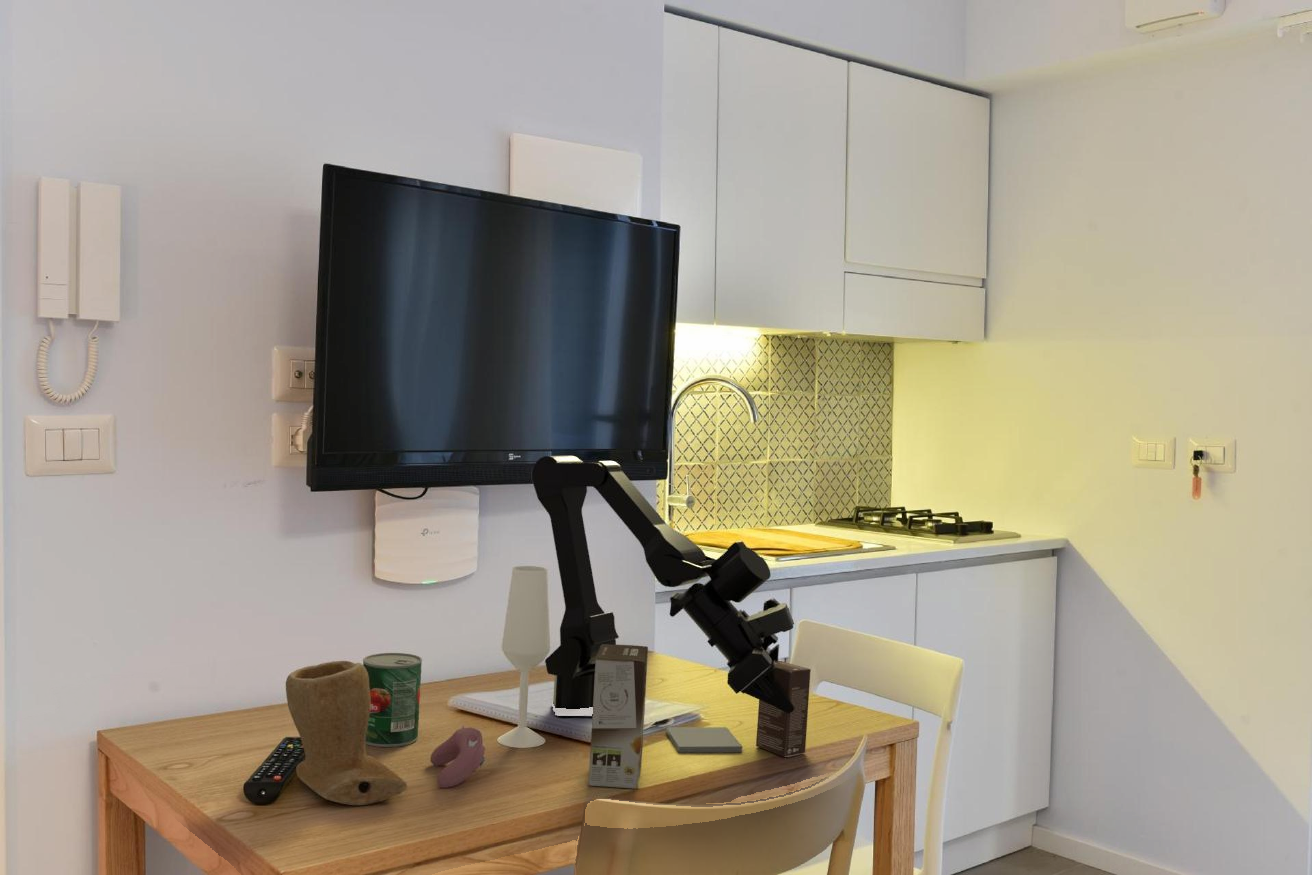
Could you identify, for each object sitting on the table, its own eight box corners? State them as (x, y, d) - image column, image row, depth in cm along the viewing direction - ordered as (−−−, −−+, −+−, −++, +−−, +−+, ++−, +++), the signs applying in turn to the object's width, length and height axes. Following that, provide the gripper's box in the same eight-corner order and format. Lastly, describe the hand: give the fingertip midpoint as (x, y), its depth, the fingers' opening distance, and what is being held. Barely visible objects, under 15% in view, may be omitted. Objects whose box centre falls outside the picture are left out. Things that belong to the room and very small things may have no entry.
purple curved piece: (467, 801, 138) (495, 749, 139) (434, 786, 137) (463, 733, 138) (457, 774, 148) (484, 725, 148) (426, 759, 146) (453, 711, 147)
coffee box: (639, 789, 141) (645, 661, 140) (587, 786, 141) (594, 658, 140) (642, 765, 150) (648, 645, 149) (593, 762, 150) (600, 642, 150)
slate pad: (678, 752, 157) (679, 746, 156) (666, 732, 165) (666, 727, 165) (742, 751, 158) (742, 746, 158) (726, 732, 167) (726, 727, 167)
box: (807, 753, 159) (812, 668, 159) (784, 758, 156) (789, 671, 156) (776, 741, 164) (781, 659, 163) (753, 746, 161) (758, 662, 160)
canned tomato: (347, 741, 154) (350, 660, 153) (381, 726, 161) (385, 649, 160) (396, 751, 151) (400, 668, 150) (429, 735, 158) (433, 657, 158)
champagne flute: (505, 749, 154) (514, 573, 153) (490, 734, 160) (499, 565, 159) (552, 745, 157) (561, 572, 156) (536, 731, 163) (544, 564, 162)
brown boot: (270, 777, 138) (275, 655, 138) (366, 764, 145) (371, 647, 144) (305, 819, 126) (311, 685, 125) (408, 803, 132) (414, 675, 132)
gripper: (757, 593, 151) (836, 684, 149) (766, 573, 169) (837, 653, 168) (694, 647, 152) (772, 737, 151) (710, 621, 171) (780, 701, 169)
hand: (793, 704), depth 159 cm, fingers closed on box, 7 cm apart
